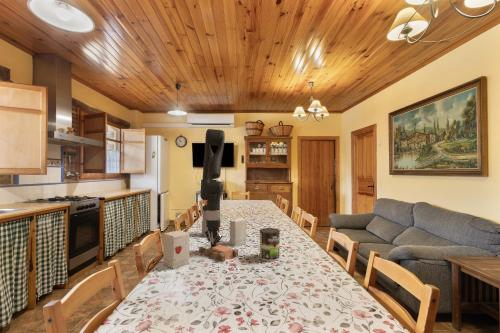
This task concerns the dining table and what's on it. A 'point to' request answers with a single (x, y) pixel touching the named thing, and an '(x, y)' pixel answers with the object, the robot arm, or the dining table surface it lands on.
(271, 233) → the coffee can
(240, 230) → the skincare box
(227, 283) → the dining table surface
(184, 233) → the supplement box
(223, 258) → the walnut chute
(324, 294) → the dining table surface
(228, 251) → the terracotta block
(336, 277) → the dining table surface
